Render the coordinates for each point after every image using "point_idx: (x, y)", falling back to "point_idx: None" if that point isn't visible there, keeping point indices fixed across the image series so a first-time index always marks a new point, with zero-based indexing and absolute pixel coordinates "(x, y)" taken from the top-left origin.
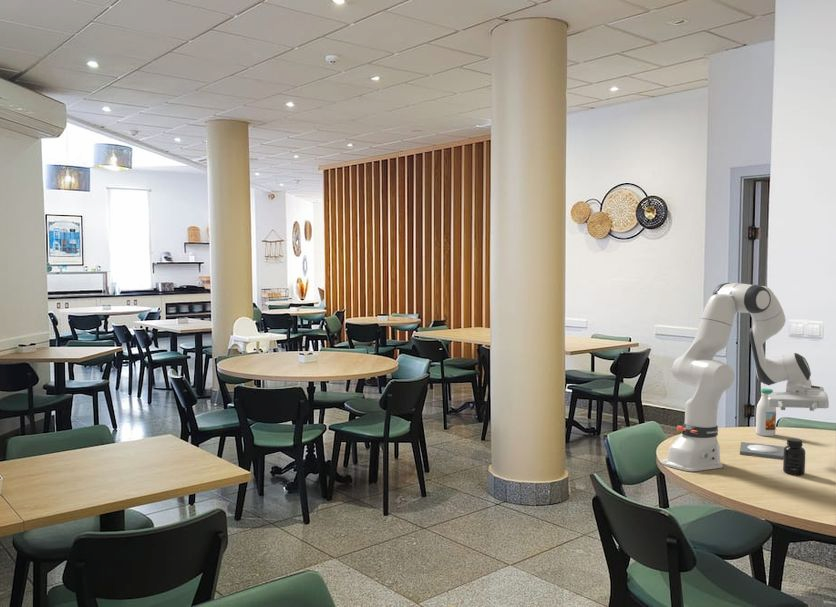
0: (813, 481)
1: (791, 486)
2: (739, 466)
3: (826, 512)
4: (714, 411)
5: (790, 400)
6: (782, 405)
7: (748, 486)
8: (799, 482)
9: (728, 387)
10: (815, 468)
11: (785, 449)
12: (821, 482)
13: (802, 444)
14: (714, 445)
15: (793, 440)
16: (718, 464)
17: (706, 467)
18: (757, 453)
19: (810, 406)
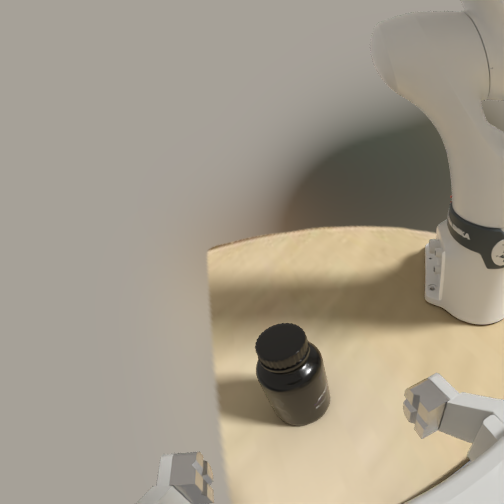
0: (245, 375)
1: (272, 316)
2: (420, 339)
3: (209, 270)
4: (451, 166)
5: (426, 493)
6: (429, 384)
7: (325, 267)
8: None
9: (391, 87)
10: (267, 495)
11: (308, 341)
12: (229, 381)
13: (258, 358)
14: (443, 250)
15: (280, 330)
16: (433, 291)
17: (425, 265)
18: (467, 462)
19: (188, 453)
